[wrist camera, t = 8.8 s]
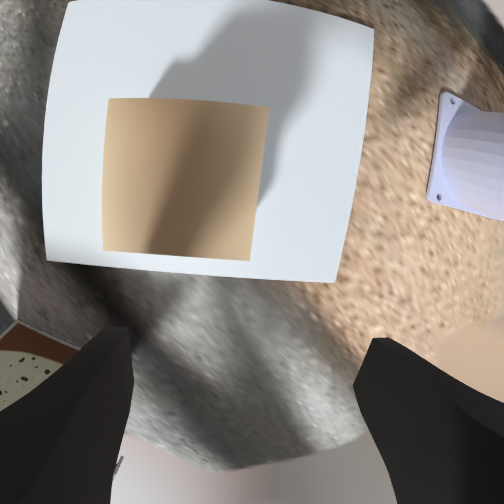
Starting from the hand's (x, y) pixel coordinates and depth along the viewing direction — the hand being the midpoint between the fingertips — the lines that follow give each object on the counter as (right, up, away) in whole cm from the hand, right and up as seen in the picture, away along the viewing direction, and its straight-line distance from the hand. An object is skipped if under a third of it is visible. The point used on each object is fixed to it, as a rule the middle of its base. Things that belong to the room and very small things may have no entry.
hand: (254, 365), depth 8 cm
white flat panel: (-3, +10, +7) cm, 12 cm away
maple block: (-3, +7, +4) cm, 8 cm away
